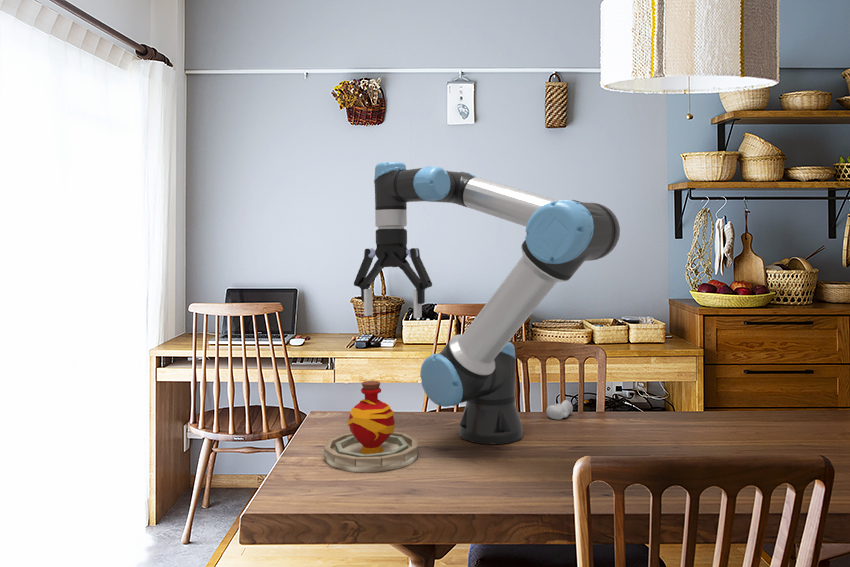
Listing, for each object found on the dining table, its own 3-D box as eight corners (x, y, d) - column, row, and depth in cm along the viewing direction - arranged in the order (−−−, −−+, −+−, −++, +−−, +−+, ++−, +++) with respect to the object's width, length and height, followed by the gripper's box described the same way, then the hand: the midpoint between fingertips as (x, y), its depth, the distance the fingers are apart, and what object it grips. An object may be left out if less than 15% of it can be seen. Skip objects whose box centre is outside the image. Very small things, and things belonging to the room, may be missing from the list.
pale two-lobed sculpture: (555, 426, 170) (541, 416, 174) (576, 420, 175) (563, 410, 178) (559, 411, 169) (545, 401, 172) (580, 406, 173) (566, 396, 177)
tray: (433, 449, 148) (433, 437, 148) (386, 478, 130) (385, 464, 130) (359, 437, 157) (359, 426, 157) (306, 462, 140) (305, 449, 140)
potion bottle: (338, 450, 144) (337, 382, 143) (375, 440, 151) (374, 375, 150) (368, 462, 136) (367, 390, 135) (406, 451, 143) (405, 382, 142)
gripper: (445, 227, 155) (446, 316, 157) (355, 229, 167) (357, 313, 168) (431, 226, 149) (432, 320, 150) (338, 229, 160) (340, 316, 161)
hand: (392, 316), depth 159 cm, fingers open, 13 cm apart
